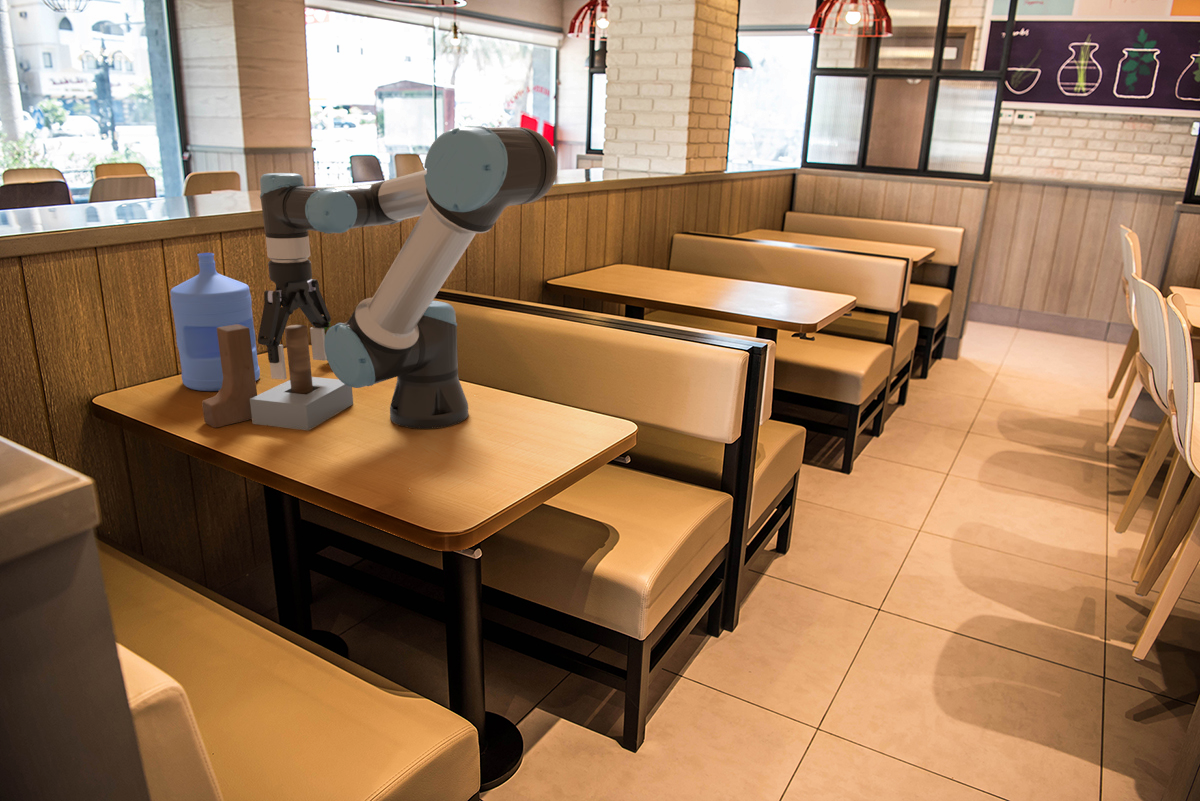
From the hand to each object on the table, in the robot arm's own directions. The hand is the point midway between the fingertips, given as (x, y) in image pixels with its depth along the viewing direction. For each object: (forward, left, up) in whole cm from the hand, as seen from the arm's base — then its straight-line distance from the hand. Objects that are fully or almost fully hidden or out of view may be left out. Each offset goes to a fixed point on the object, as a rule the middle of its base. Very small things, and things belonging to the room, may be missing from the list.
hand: (300, 368), depth 160 cm
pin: (0, 0, -8) cm, 8 cm away
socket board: (0, 0, -9) cm, 9 cm away
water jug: (+29, -13, -9) cm, 33 cm away
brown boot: (+11, +8, -9) cm, 16 cm away
